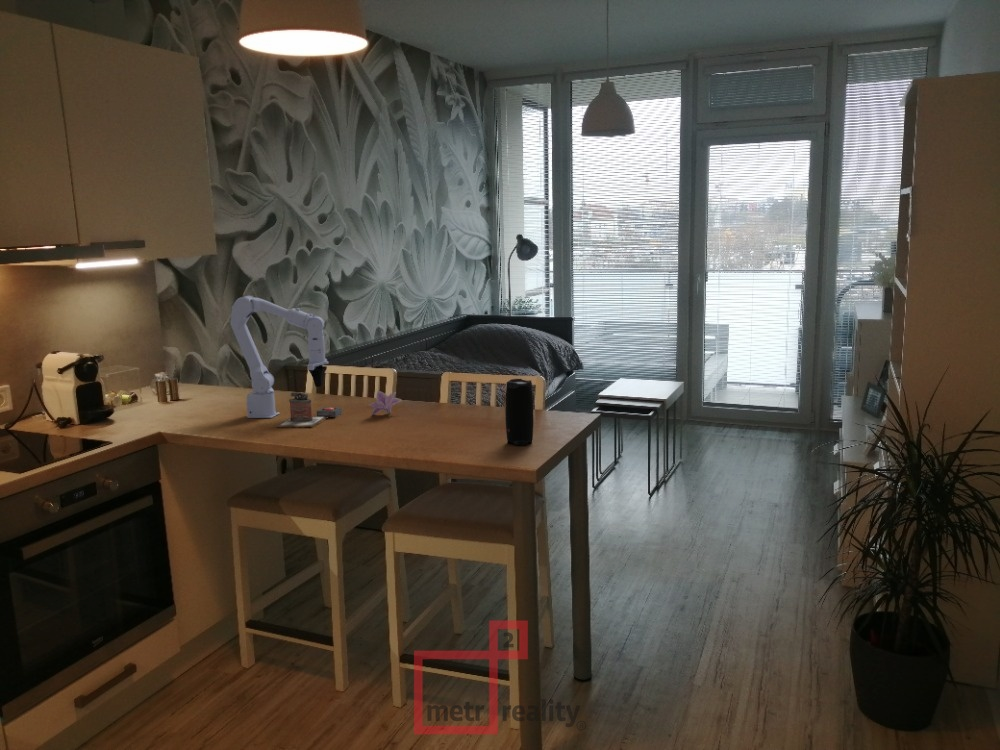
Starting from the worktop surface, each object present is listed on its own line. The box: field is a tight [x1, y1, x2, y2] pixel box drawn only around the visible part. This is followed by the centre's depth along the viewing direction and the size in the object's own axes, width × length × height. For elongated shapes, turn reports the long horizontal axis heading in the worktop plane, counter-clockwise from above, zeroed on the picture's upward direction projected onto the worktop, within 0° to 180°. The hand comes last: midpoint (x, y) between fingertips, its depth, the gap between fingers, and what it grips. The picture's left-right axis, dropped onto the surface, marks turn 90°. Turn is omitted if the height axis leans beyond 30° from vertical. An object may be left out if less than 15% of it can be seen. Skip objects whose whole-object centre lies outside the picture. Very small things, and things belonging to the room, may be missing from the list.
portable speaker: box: [504, 378, 535, 447], centre depth 242 cm, size 9×9×20 cm
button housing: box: [316, 406, 343, 418], centre depth 286 cm, size 7×7×2 cm
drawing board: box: [276, 415, 328, 428], centre depth 276 cm, size 13×15×1 cm
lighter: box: [288, 391, 313, 422], centre depth 276 cm, size 8×3×10 cm, turn 79°
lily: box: [367, 390, 403, 419], centre depth 284 cm, size 12×12×10 cm
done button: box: [324, 406, 334, 411], centre depth 286 cm, size 4×4×2 cm
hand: (318, 386), depth 288 cm, fingers closed
